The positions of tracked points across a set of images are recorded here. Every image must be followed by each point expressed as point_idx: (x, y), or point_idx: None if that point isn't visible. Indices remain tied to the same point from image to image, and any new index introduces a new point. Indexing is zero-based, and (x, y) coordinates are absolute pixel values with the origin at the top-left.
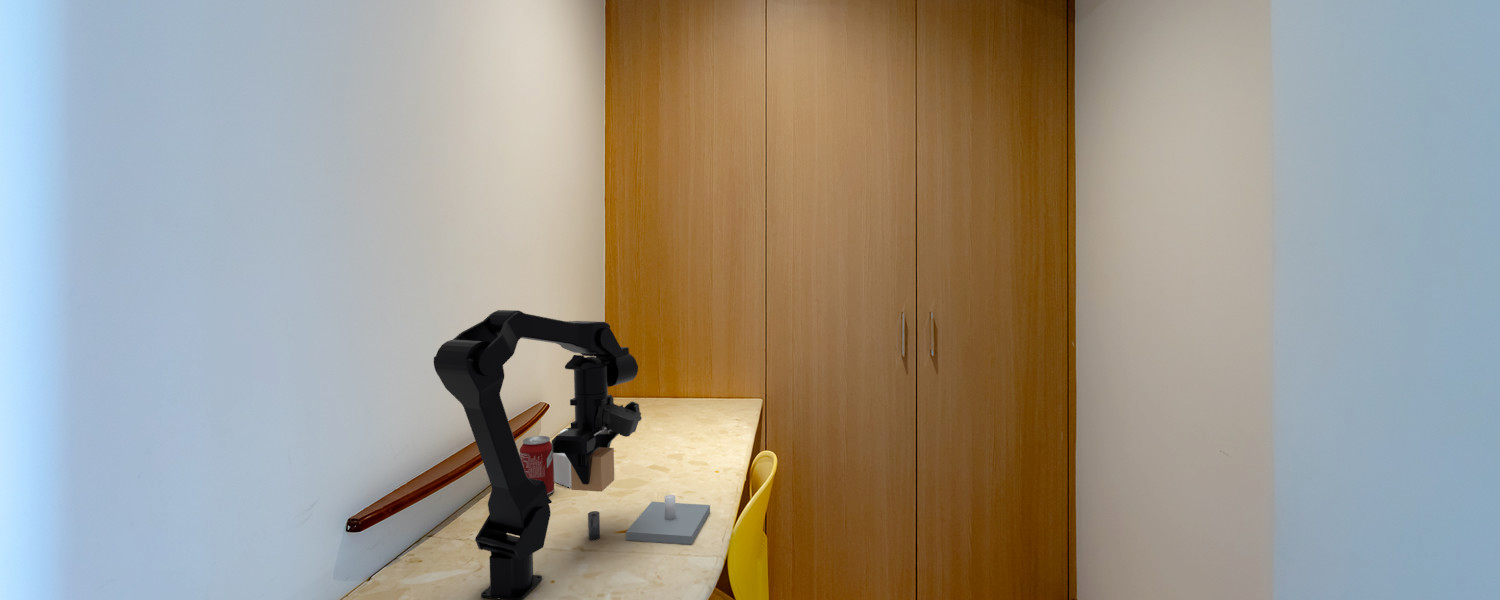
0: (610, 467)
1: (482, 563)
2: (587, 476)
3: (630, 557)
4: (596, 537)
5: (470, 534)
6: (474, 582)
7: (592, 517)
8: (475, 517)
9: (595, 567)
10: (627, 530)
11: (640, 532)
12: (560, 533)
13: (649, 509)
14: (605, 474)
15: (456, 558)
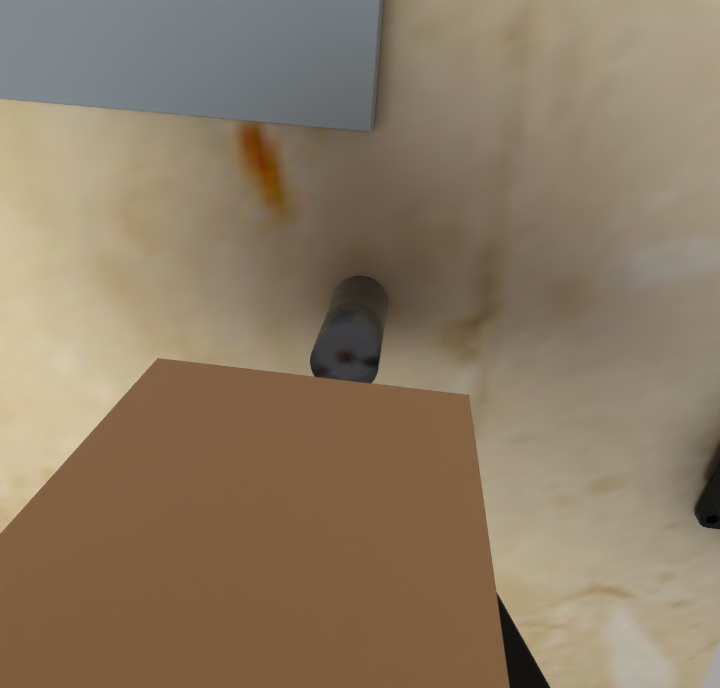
0: (176, 485)
1: (572, 593)
2: (515, 634)
3: (596, 24)
4: (380, 289)
5: None
6: (711, 577)
7: (379, 356)
8: None
9: (686, 199)
10: (350, 126)
11: (371, 22)
12: None
13: (24, 68)
14: (353, 480)
15: None
